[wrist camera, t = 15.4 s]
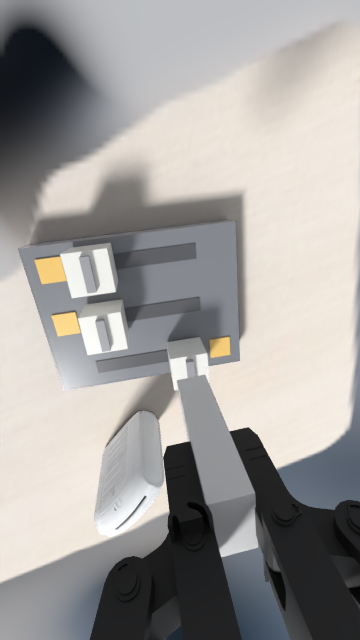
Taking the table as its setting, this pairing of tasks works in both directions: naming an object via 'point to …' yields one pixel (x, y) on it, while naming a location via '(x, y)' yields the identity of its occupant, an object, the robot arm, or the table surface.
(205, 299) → the console
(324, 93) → the table surface
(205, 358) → the slider
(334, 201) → the table surface
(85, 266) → the slider
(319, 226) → the table surface
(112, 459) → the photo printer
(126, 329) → the slider mid
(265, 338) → the table surface
